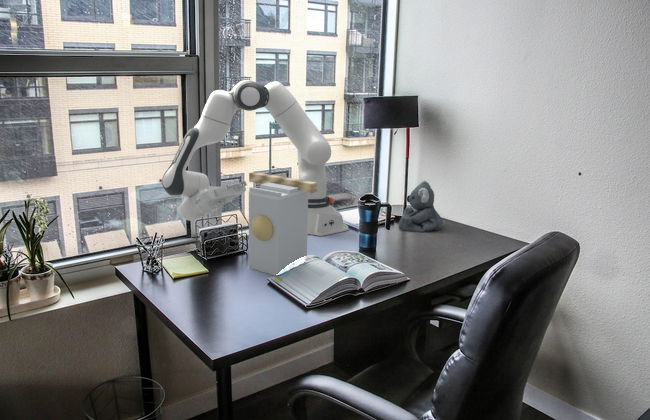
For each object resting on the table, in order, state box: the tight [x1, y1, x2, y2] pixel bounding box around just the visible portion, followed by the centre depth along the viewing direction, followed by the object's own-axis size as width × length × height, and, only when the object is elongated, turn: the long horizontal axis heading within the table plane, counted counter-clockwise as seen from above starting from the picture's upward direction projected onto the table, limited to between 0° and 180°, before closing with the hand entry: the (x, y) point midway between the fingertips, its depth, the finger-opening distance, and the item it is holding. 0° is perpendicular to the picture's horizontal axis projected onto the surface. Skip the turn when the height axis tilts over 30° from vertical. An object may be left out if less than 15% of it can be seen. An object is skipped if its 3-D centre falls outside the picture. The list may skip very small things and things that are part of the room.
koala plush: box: [397, 180, 444, 233], centre depth 227 cm, size 17×18×20 cm
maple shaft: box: [248, 171, 317, 193], centre depth 179 cm, size 26×3×3 cm, turn 57°
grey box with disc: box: [248, 183, 308, 276], centre depth 178 cm, size 12×17×27 cm
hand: (236, 185), depth 191 cm, fingers open, 8 cm apart
